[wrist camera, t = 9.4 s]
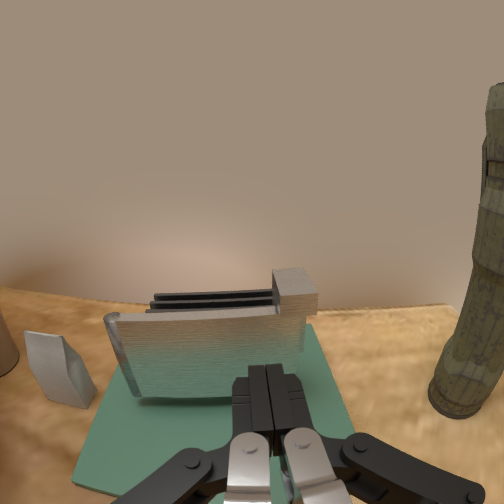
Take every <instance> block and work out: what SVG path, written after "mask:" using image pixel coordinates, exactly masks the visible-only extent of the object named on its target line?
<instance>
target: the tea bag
mask: <svg viewBox="0 0 504 504" xmlns="http://www.w3.org/2000/svg"><path fill="white" fill-rule="evenodd" d="M23 333H24V337H25V342H26V348H27V355H28V361H29V367H30V369H31V370H32V372H33V374H34V376H35V378H36V379H37V381H38V383H39V384H40V386H41V388H42V389H43V391H44V393H45V394H46V396H47V397H48V399H49V400H52V401H55V402H59V403H63V404H66V405H70V406H74V407H78V408H83V409H88V407H89V405H90V403H91V401H92V399H93V397H94V395H95V393H96V391H97V390H96V388H95V386H94V384H93V382H92V380H91V378H90V376H89V374H88V371H87V369H86V367H85V365H84V363H83V361H82V358H81V356H80V355H79V354H78V353H77V352H76V351H75V350H74V349H73V348H71V347H70V345H69V344H68V343H67V342H66V341H65V339H64V337H63V336H60V335H52V334H45V333H38V332H32V331H26V330H25V332H23Z"/></svg>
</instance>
